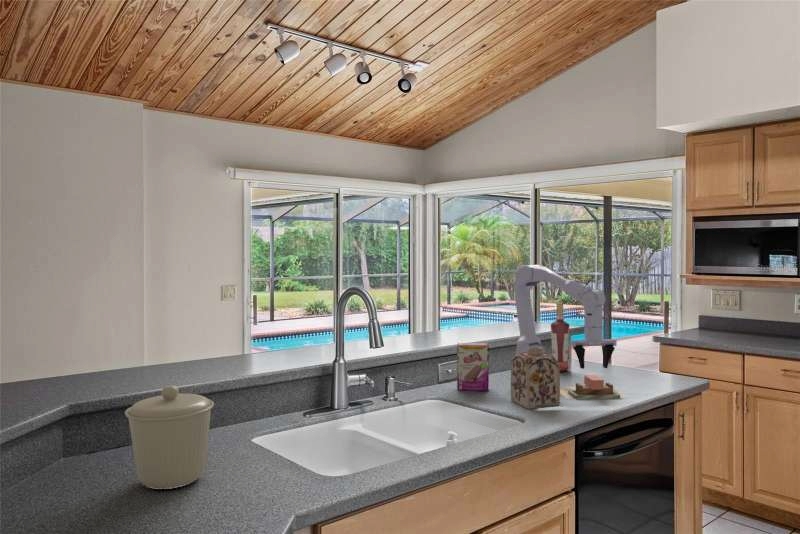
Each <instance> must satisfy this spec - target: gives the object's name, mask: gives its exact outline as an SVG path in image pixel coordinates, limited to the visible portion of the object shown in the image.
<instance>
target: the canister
mask: <svg viewBox="0 0 800 534" xmlns="http://www.w3.org/2000/svg"><path fill="white" fill-rule="evenodd" d="M179 391H180V390H179V388H178V387H177V386H176V385H166V386H165V387H163V388H162V389H161V395H157V396H152V397H148V398H144V399H141V400H139V401H137V402H135V403H134V404H132V406H130V407H128V408H127V409H126V410H125V411H124V414H125V415H124V416H125V417H126V418H128V422H129V424H128V425H129V431H130V432H129V433H130V436H131V444H132V451H133V455H134V456H133V457H134V458H133V459H134V463H135V467H136V473H137V478H138V480H139V482H140V484H141V485H142V486H144V485H145V486H147V487H153V488H167V487H175V486H180V485H184V484H188V483H190V482H193V481H195V480H197V479H198V478H199V479H200V478H201V477H202V476H203V474H204V471H205V468H206V463H207V456H208V448H209V446H208V445H209V435H210V424H211V413H212V412H211V410H212V409H213V408H214V406H215V403H214V401H213V400H212V399H209V398H207V397H206V396H204V395H200V394H196V393H179ZM199 479H198V480H199ZM198 480H197V481H198ZM195 482H196V481H195ZM145 486H144V487H145ZM147 487H146V488H147Z"/></svg>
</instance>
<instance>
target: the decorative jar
mask: <svg viewBox="0 0 800 534" xmlns="http://www.w3.org/2000/svg"><path fill="white" fill-rule="evenodd" d="M559 367H560V366H559V364H558V362H557V360H556V359H555V357H554V356H553V355H552V353H551V354H550V353H547V352H545V351H544V352H542V348H539V347H532V348H528V349H527V352H522V353H519V354H517V355H516V354H515V356H514V357H513V358H512V360H511V361H510V397H511V398H510V401H511V402H513V403H515V404H517V405H520V406H521V407H523V408H525V409H527V410H533V409H543V408H545V409H546V408H553V407H556V408H557V407H560V405H559V404H560V403H561V394H560V387H561V383H560V381H561V379H560V376H561V375H560V373H561V372H560V368H559ZM547 404H548V405H547ZM550 404H554V405H550ZM555 404H558V405H555Z"/></svg>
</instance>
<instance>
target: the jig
mask: <svg viewBox="0 0 800 534" xmlns="http://www.w3.org/2000/svg"><path fill="white" fill-rule="evenodd" d="M561 395H562V397H564V398H565V399H566V400H590V399H591V400H599V399H601V400H602V399H629V397H628V396H626V395H624V394H623V393H622V392H620V391H618V390H616V389H614V388H613V394H605V395H577V394H576V386H560V396H561Z"/></svg>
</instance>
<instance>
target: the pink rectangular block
mask: <svg viewBox="0 0 800 534" xmlns="http://www.w3.org/2000/svg"><path fill="white" fill-rule="evenodd" d="M583 380H584V381H583V382H584V383H583V385H587V386H588V387H589V388H591V389H592V390H598V389H604V385H605V382H604V379H602V378H601V377H599V376H597V375H596V374H583Z"/></svg>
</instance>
